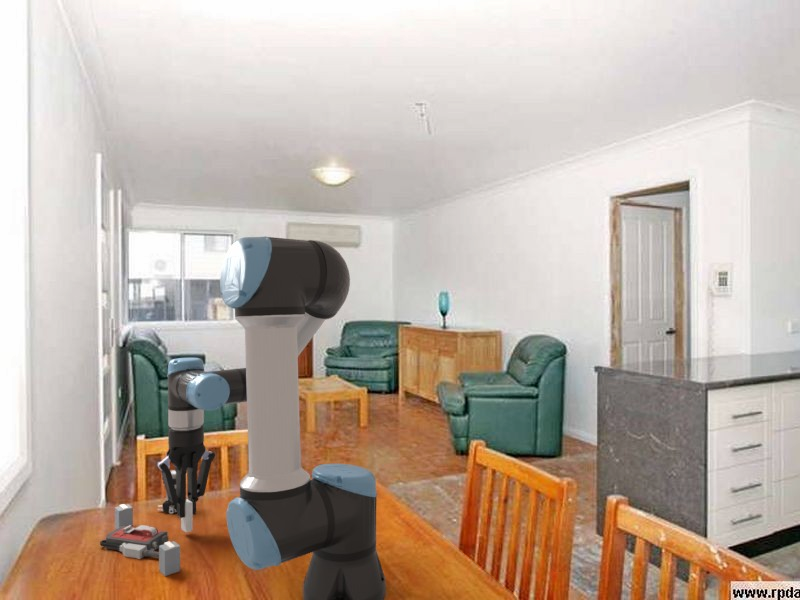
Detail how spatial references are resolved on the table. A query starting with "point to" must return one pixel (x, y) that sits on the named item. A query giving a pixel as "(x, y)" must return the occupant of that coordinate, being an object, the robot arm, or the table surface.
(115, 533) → the walkie-talkie
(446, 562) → the table surface
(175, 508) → the push button
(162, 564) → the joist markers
